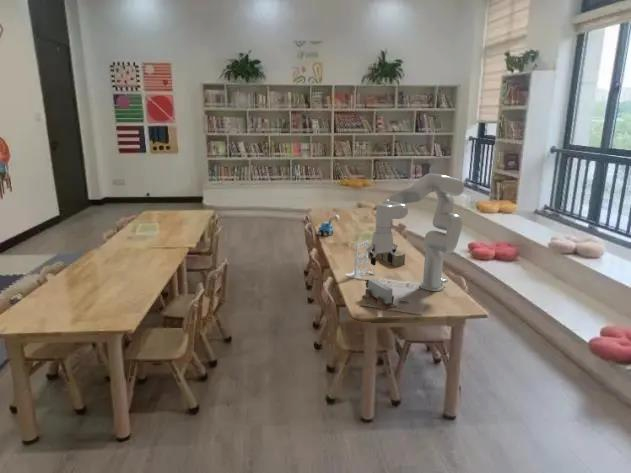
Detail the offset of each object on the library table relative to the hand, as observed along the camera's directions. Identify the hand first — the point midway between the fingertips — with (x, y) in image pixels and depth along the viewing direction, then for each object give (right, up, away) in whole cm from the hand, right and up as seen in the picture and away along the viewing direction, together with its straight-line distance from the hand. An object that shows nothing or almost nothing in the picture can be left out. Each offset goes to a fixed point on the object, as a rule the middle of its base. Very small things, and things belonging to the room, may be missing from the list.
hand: (381, 263), depth 226 cm
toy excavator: (-22, +14, +131) cm, 134 cm away
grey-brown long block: (+15, -2, +74) cm, 75 cm away
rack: (0, -20, +5) cm, 20 cm away
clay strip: (0, -17, +4) cm, 18 cm away
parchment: (+1, -15, +24) cm, 29 cm away
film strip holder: (-7, -10, +44) cm, 45 cm away
